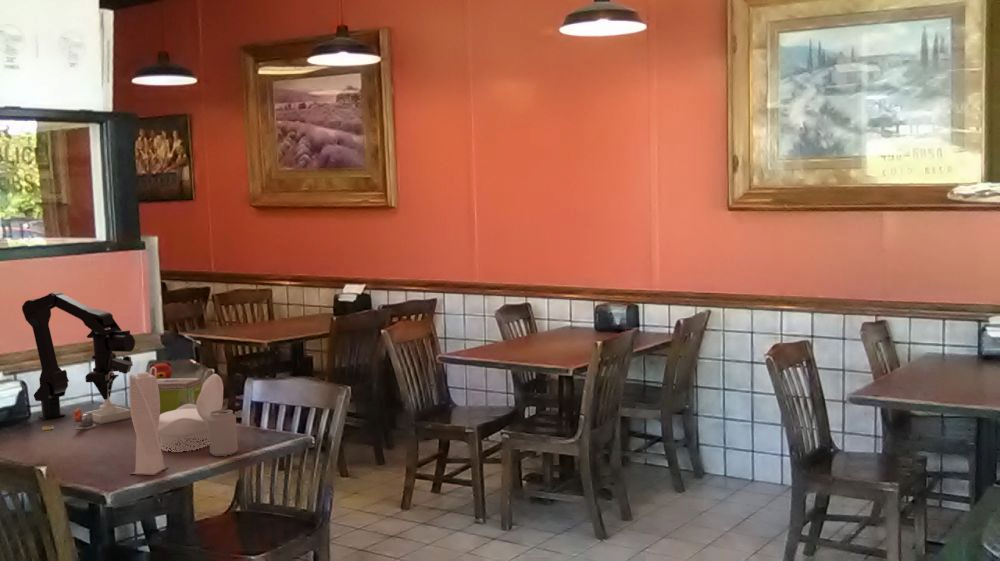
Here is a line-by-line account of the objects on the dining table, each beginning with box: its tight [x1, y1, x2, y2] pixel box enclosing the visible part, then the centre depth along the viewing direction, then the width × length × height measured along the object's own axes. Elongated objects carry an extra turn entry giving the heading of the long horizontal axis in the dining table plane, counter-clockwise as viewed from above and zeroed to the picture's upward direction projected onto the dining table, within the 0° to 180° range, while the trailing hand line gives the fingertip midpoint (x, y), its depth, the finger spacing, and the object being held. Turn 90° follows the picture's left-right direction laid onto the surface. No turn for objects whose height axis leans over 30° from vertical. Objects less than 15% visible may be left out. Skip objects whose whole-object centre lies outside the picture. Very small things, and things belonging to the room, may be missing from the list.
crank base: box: [74, 422, 98, 430], centre depth 329 cm, size 6×6×1 cm
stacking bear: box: [149, 362, 173, 379], centre depth 338 cm, size 11×10×18 cm
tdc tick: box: [41, 425, 54, 431], centre depth 327 cm, size 3×1×1 cm, turn 97°
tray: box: [84, 405, 132, 425], centre depth 339 cm, size 11×11×2 cm
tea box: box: [157, 377, 204, 414], centre depth 323 cm, size 15×10×15 cm, turn 80°
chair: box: [157, 373, 224, 453], centre depth 299 cm, size 20×20×20 cm
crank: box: [72, 407, 94, 427], centre depth 324 cm, size 12×4×7 cm, turn 7°
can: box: [208, 409, 239, 457], centre depth 288 cm, size 8×8×12 cm
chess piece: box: [99, 390, 116, 409], centre depth 339 cm, size 5×5×10 cm
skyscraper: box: [128, 367, 169, 476], centre depth 271 cm, size 8×8×28 cm
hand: (106, 398), depth 339 cm, fingers closed on chess piece
